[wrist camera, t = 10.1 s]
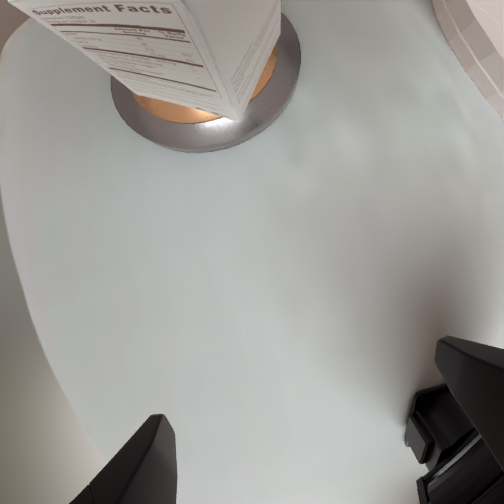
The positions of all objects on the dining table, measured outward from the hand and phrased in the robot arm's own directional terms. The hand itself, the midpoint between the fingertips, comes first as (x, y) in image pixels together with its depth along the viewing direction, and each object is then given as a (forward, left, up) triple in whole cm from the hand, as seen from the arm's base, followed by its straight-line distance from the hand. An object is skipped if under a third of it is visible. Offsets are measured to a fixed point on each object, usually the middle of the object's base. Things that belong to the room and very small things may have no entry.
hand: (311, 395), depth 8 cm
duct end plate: (+4, -16, -12) cm, 20 cm away
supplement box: (+4, -16, -10) cm, 19 cm away
